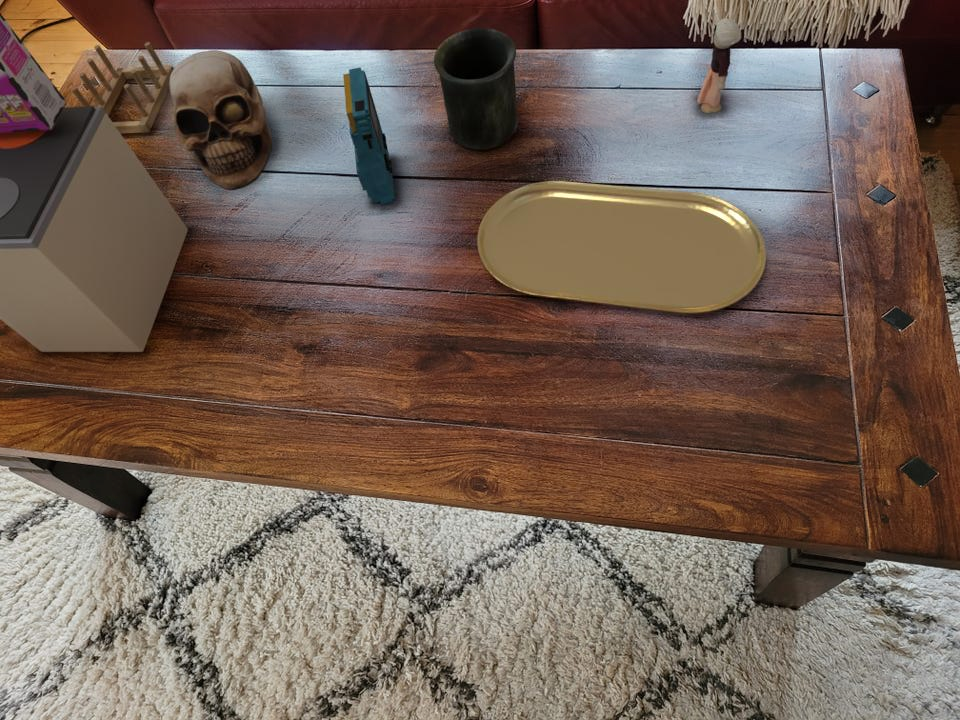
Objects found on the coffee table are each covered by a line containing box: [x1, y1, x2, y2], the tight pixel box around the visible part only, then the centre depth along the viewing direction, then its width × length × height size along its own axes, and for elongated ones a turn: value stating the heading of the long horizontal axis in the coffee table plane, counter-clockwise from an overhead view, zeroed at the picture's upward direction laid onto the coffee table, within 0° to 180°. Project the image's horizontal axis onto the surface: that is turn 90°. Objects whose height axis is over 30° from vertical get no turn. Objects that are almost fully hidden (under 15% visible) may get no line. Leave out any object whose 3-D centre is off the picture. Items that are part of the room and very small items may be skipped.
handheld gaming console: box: [342, 66, 396, 206], centre depth 90 cm, size 10×4×15 cm, turn 9°
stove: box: [0, 105, 189, 353], centre depth 82 cm, size 14×20×22 cm
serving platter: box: [476, 180, 767, 315], centre depth 85 cm, size 19×35×2 cm, turn 77°
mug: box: [433, 27, 519, 151], centre depth 95 cm, size 11×15×12 cm
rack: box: [70, 41, 175, 135], centre depth 109 cm, size 10×14×7 cm
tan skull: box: [169, 49, 273, 190], centre depth 99 cm, size 16×17×13 cm
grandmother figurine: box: [696, 17, 742, 114], centre depth 91 cm, size 8×4×13 cm, turn 3°
